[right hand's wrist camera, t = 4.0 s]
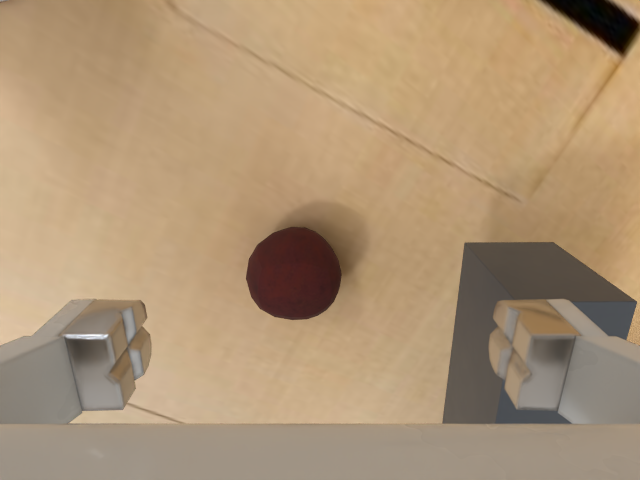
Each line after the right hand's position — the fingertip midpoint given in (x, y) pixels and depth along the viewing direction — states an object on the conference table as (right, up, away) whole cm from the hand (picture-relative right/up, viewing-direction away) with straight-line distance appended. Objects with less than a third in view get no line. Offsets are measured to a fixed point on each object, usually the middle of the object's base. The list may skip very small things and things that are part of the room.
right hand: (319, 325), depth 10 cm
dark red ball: (-2, +1, +29) cm, 29 cm away
